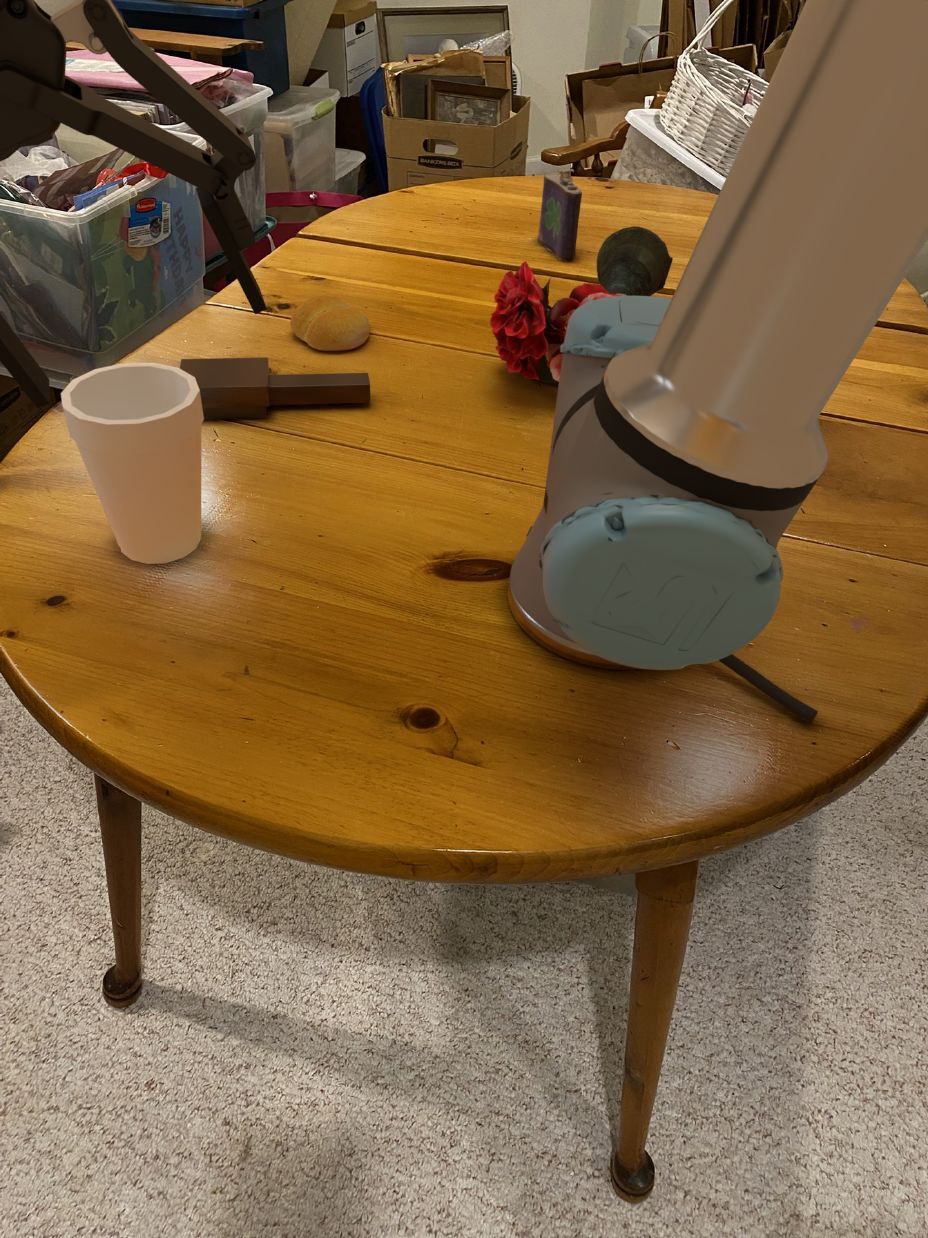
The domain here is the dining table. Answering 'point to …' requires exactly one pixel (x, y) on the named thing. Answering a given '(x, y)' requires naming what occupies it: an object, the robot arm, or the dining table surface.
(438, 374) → the dining table surface
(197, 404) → the foam cup
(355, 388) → the brush
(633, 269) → the carnation
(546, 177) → the flask
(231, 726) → the dining table surface
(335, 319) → the bread roll
